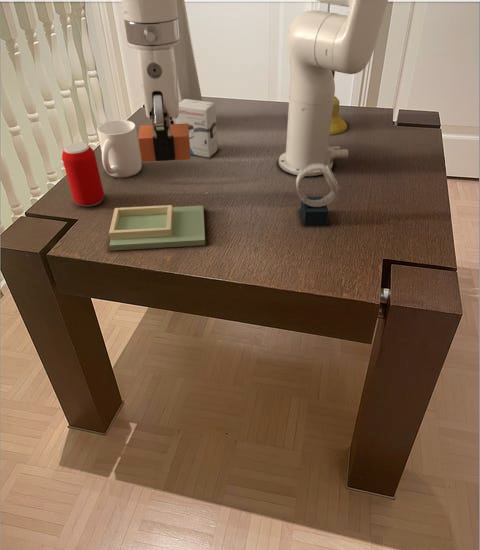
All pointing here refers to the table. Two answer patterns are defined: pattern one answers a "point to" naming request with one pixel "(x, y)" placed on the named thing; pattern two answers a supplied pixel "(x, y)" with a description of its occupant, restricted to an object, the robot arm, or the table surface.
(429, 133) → the table surface
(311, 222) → the grey ring dark base
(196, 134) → the ink box
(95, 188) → the beverage can
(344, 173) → the table surface
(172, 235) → the base pad
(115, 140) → the mug
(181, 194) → the table surface
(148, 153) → the orange box
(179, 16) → the vase
